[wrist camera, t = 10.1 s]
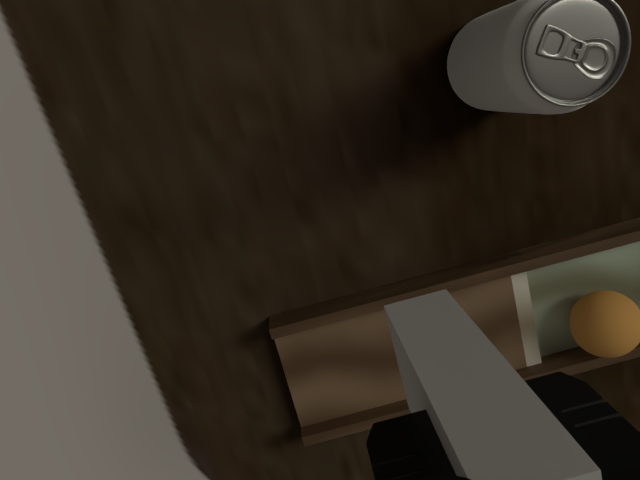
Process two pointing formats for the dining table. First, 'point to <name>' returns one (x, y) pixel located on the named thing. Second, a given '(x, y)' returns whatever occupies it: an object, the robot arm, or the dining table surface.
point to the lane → (481, 306)
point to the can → (540, 56)
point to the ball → (605, 323)
